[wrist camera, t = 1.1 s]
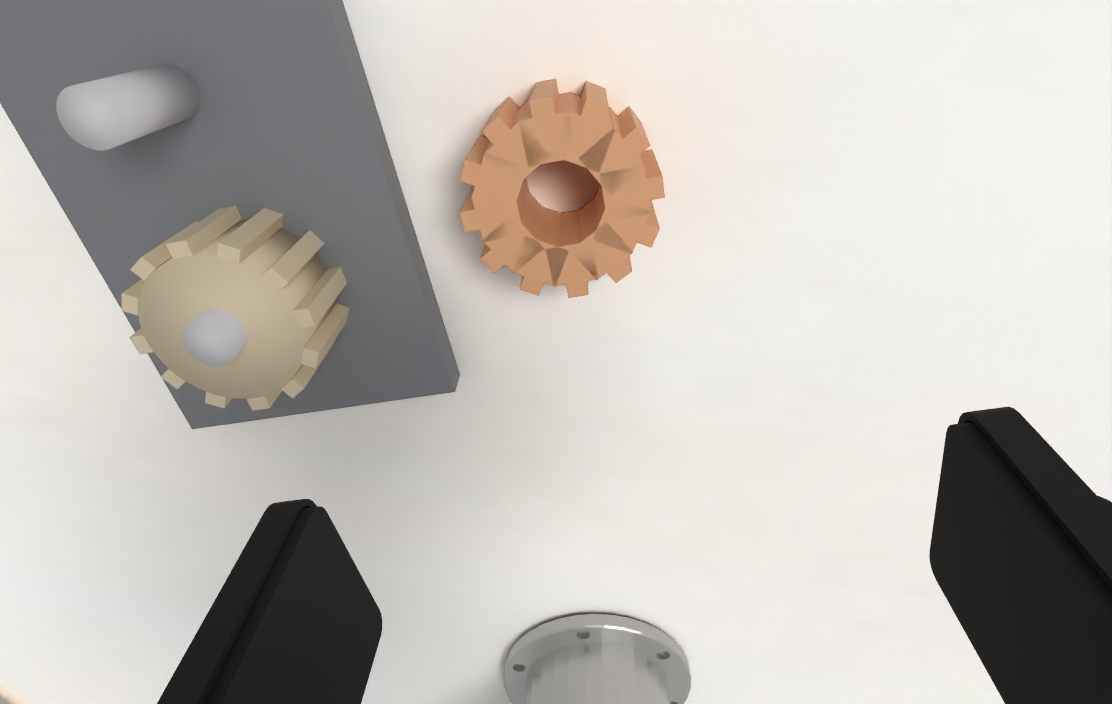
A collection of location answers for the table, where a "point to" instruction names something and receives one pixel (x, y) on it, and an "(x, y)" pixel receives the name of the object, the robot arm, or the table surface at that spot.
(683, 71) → the table surface
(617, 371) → the table surface
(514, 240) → the loose gear
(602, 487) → the table surface
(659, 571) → the table surface
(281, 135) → the gear board
